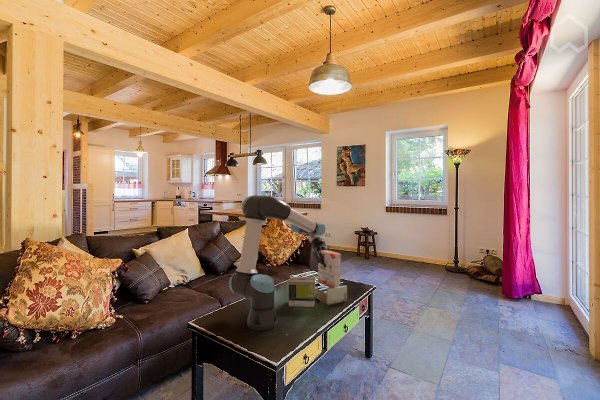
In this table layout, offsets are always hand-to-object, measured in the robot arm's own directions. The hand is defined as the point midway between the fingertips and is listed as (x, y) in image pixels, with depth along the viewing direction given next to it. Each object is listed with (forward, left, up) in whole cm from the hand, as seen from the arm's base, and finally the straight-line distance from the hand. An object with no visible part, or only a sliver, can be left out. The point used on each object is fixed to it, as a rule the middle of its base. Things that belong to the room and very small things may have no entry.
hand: (333, 270), depth 180 cm
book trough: (-1, +2, -18) cm, 18 cm away
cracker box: (-1, +4, -10) cm, 11 cm away
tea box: (-20, +3, -18) cm, 27 cm away
